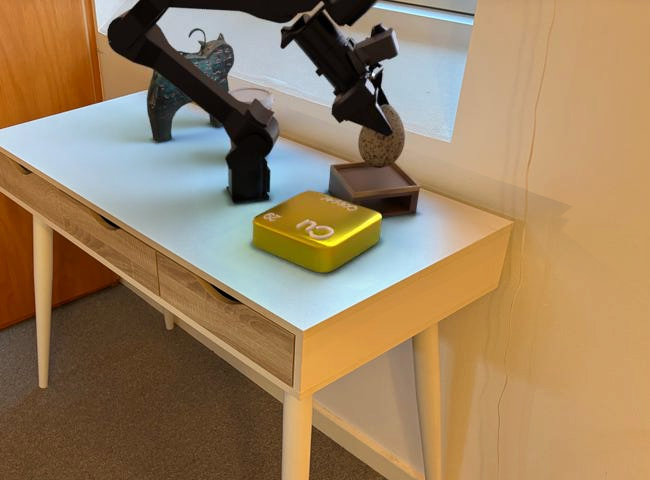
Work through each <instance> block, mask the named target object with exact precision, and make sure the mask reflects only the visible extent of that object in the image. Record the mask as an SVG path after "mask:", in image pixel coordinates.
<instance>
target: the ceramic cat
mask: <svg viewBox="0 0 650 480" xmlns="http://www.w3.org/2000/svg"><path fill="white" fill-rule="evenodd" d="M198 31H200V32H202V34H203V38H204V40H197V43H198V44H199V45H200V47H199V51H197V52H196V51H195V52H186V51H182V50H177V51H178V52H179V53H180V54H182V55H183V56H184V57H185V58H187V59H188V60H189V61H190V62H192V63H193V64H194V65H195V66H196V67H198V68H199V69H200V70H201V71H203V72H204V73H205V74H206V75H207V76H209V77H210V78H211V79H212V80H214V81H215V82H216V83H217V84H219V85H220V86H221V87H222V88H223V89H225V90H226V91H227V92H229V91H230V87H229V79H228V75H229V73H230V72H231V70H232V68H233V66H234V63H235V54H234V48H233V47H232V45H231V44H230V43H228V42H227V41H226V40H225V37H224V34H223V33H222V32H219V34H218V37H217V38H216V39H213V40H210V41H207V39H206V33H205V31H204V30H203V29H201V28H198V27H196V28H193V29H191V30H190V32H189V33H188V38H189V39H190V38H191V36H192V35H193V33H195V32H198ZM152 70H153V69H152ZM149 81H150V82H149V86H148V88H147V94H146V111H147V116H148V120H149V126H150V129H151V134H152V139H153V140H154V141H156V142H157V143H164V142H169V141H171V140H172V139H173V135H172V128H173V127H172V126H173V121H174V120H173V119H174V118H175V116H176V114H177V112H178V111H179V110H180V109H181V108H182V107H184V106H186V105H188V104H191V103H194V102H193V101H192V100H191V99H189V98H188V97H187V96H186V95H184V94H183V93H182V92H181V91H179V90H178V89H177V88H176V87H175V86H173V85H172V84H171V83H170V82H168V81H167V80H166V79H165V78H163V77H162V76H161V75H160V74H158V73H157V72H156V71H155V70H153V71H152V75H151V79H150V80H149ZM208 118H209V123H210V125H212V126H213V127H215V128H221V127H223V126H222V125H221V124H220V123H219V122H218V121H217V120H216V119H214V118H213V117H212V116H211V115H209V114H208Z"/></svg>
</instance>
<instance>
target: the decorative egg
mask: <svg viewBox="0 0 650 480" xmlns="http://www.w3.org/2000/svg"><path fill="white" fill-rule="evenodd" d="M380 109H381V110H382V112H383V114H384V116H385V117H386V119H387V121H388V122H389V124H390V126H391V128H392V130H393V134H391V135H390V136H389V137H387V136H385V135H382V134H380V133H378V132H375V131H373V130H371V129H368V128H366V127H364V126H361V128H360V132H359V135H358V142H357V144H358V152H359V155H360V157H361V159H362V160H363V161H365V162H366V163H367V164H368V165H370V166H372V167H375V168H384V167H387V166H389V165H391V164H392V163H394V162H397V160H398V159H399V158H400V156H401V154H402V153H403V151H404V147H405V142H406V131H405V127H404V123H403V120H402V118H401V116H400V114H399V112H398V111H397V110H396V109H395V108H394V106H392V105H391V106H390V105H388V104H384V105H382V106H380Z"/></svg>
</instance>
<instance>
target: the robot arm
mask: <svg viewBox="0 0 650 480" xmlns="http://www.w3.org/2000/svg"><path fill="white" fill-rule="evenodd" d="M380 1H381V0H138V1H137V2H136V3H135V4H134V5H133V6H132V7H131V8H130V9H128V10H126V11H125V12H123V13H121V14H119V15H118V16H116V17H115V18H114V19H112V20H111V21H110V23H109V25H108V26H107V32H106V37H107V41H108V42H107V43H108V45H109V48H110V49H111V50H112V51H113V52H114V53H116V54H117V55H118V56H120V57H122V58H124V59H126V60H128V61H129V62H131V63H134V64H136V65H140V66H143V67H145V68H149V69H151V70H155V71H156V72H157V73H158V74H160V75H161V76H162V77H163V78H165V79H166V80H167V81H168V82H170V83H171V84H172V85H173V86H175V87H176V88H177V89H178V90H179V91H181V92H182V93H183V94H184V95H186V96H187V97H188V98H189V99H191V100H192V101H193V102H192V103H194V104H195V105H196V106H198V107H199V108H200V109H202V110H203V111H204V112H205V113H207V114H208V116H209V115H211V116H212V117H213V118H214V119H216V120H217V121H218V122H219V123H220V124H221V125H222V126H221V127H222V128H223V129H224V131H225V133H226V135H227V136H228V138H229V141H230V140H231V141H232V143H233V144H234V145H233V146H232V148H231V147H230V149H229V151H228V152H227V154H226V155H225V158H224V160H225V163H226V165H227V182H228V183H227V184H228V185H227V186H225V189H226V192H227V194H228V196H229V198H230V201H231V202H232V204H241V203H252V202H263V201H269V200H270V195H269V193H270V192H271V168H270V167H269V166H268V161H267V159H266V158H267V157H268V156H269V155H270V154H271V152H272V150H273V149H274V147H275V144H276V142H277V141H278V138H279V136H280V132H281V131H280V123H279V122H278V119H276V117H275V116H274V115H275V111H273V110H271V111H270V110H268V109H267V108H265V107H264V106H263V105H262V104H261V102H260V101H259V100H257V99H256V98H255V99H254V100H253V101H252V103H251V104H247V103H243V102H240V101H239V100H237V99H236V98H234V97H233V96H232V95H231V94H230V93H228V92H227V91H226V90H225V89H223V88H222V87H221V86H220V85H219V84H217V83H216V82H215V81H214V80H212V79H211V78H210V77H209V76H207V75H206V74H205V73H204V72H203V71H201V70H200V69H199V68H198V67H196V66H195V65H194V64H193V63H192V62H190V61H189V60H188V59H187V58H185V57H184V56H183V55H182V53H179V52H178V51H179V50H177V48H174V47H173V45H171V44H170V42H169V41H168V39H167V37H166V35H165V34H164V32H163V30H162V28H161V27H160V26H159V25H158V22H159V21H160V20H161V19H162V17H163V16H164V15H165V14H166V12H167V11H168V10H169V9H170V8H173V9H190V10H207V11H209V10H210V11H227V12H241V13H244V14H247V15H250V16H252V17H254V18H256V19H260V20H263V21H268V22H271V23H276V24H287V23H289V22H291V21H293V19H295V18H296V17H297V16H298V14H302V15H300V17H298V19H297V20H296V21H294V23H293V24H291V25H288V26H287V25H284V26H282V27H281V29H280V35H281V39H280V45H279V47H280V49H281V50H284V49H286V48H287V47H288V46H289V45H290V44H291V43H292V42H294V43H295V44H296V45H297V47H299V48H300V50H301V51H302V52H303V53H304V54H305V56H306V57H307V58H308V59H309V60H310V62H311V63H312V64H313V65H314V67H315V68H316V70H315V71H314V72H315V74H316V75H317V76H318V77H322V76H323V77H324V78H325V79H326V81H327V82H328V83H329V84H330V86H331V87H332V88H333V91H332V94H333V95H334V96H335V98H334V100H333V102H332V105H331V113H330V114H331V116H332V117H333V118H334V119H335V120H336V121H337V122H338V123H339V124H342V123H343V122H344V121H345V122H351V123H353V124H356V125H359V126H361V127H363V126H364V127H366V128H368V129H371V130H373V131H375V132H378V133H380V134H382V135H385V136H387V137H389V136H390V135H391V134H393V130H392V128H391V126H390V124H389V122H388V121H387V119H386V117H385V116H384V114H383V112H382V110H381V109H380V106H382V105H384V104H388V105H390V106H392V103H391V102H390V99H389V97H388V95H387V93H386V90H385V88H384V85H383V80H384V73H385V68H384V67H383V65H384V63H385V61H386V60H388V61H389V60H391V59H394V58H396V57H397V56H399V53H400V52H399V51H400V50H401V49H400V45H399V42H398V39H397V38H398V37H397V33H396V32H395V29H394V28H392V26H391V27H389V28H388V27H387V26H386V25H385V24H384V23H382V22H380V23H377V24H376V25H373V26H372V28H371V31H370V37H365V38H364V40H361V41H359V42H357V41H356V40H355V39H354V37H349V36H348V37H347V38H346V37H345V36H344V34H343V33H342V32H341V31H340V29H339V28H338V27H340V28H341V27H345V26H348V27H350V28H352V27H353V26H354V25H355V24H357V22H358V21H359V20H361V19H362V18H363V17H364V16H365V15H366V14H367V13H368V12H369V11H370V10H371V9H372V8H373V7H375V6H376V5H377V4H378V3H379V2H380ZM321 2H322V5H321V6H320V7H319V8H318V9H317V10H315V11H314V12H313V10H314V9H315V8H316V7H317V6H318V5H319V4H320V3H321ZM309 12H313V14H311V15H310V14H308V13H309ZM325 12H326V13H327V14H326V13H325ZM336 25H337V26H338V27H337V26H336ZM377 68H378V69H379V71H377V72H375V71H374V70H376V69H377Z"/></svg>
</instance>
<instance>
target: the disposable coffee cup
mask: <svg viewBox="0 0 650 480" xmlns="http://www.w3.org/2000/svg"><path fill="white" fill-rule="evenodd" d="M228 93H230V94H231V95H232V96H233V97H234V98H236V99H237V100H239V101H240V102H243V103H247V104H251V103H252V101H253V100H254V99H255V98H256V99H257V100H259V101H260V102H261V104H262V105H263V106H264V107H265V108H267V109H268V110H270V111H272V109H273V107H274V104H275V98H274V95H273V92H272V91H271V90H270V89H267V88H262V87H255V86H254V87H253V86H252V87H251V86H249V87H248V86H247V87H238V88H233V89H231V90H229V92H228ZM229 143H230V149H231V148H232V146H233V145H234V144H233V143H232V141H231V140H230V139H229Z"/></svg>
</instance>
